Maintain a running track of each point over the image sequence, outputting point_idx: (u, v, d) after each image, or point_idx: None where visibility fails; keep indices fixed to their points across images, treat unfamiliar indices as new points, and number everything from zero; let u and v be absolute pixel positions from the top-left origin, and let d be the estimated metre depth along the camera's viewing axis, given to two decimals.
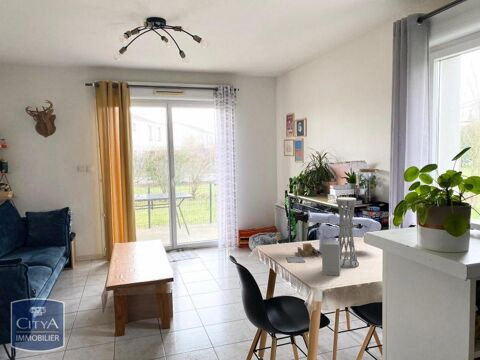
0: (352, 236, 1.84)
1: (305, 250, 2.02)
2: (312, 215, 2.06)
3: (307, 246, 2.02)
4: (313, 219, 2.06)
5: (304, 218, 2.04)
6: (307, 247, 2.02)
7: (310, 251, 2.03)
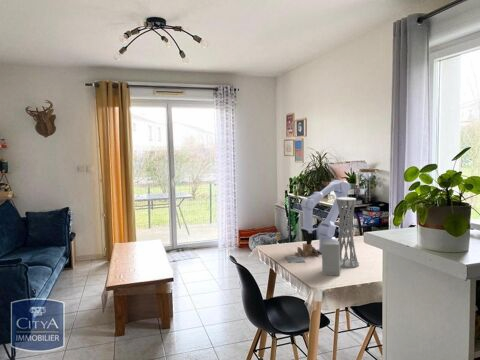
0: (352, 236, 1.84)
1: (305, 250, 2.02)
2: (305, 225, 2.01)
3: (307, 246, 2.02)
4: (309, 224, 2.01)
5: (309, 235, 2.00)
6: (307, 247, 2.02)
7: (310, 251, 2.03)
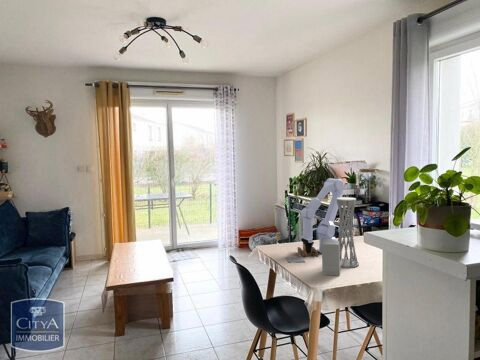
0: (352, 236, 1.84)
1: (305, 250, 2.02)
2: (305, 235, 2.02)
3: None
4: (309, 234, 2.01)
5: (309, 244, 2.01)
6: None
7: None
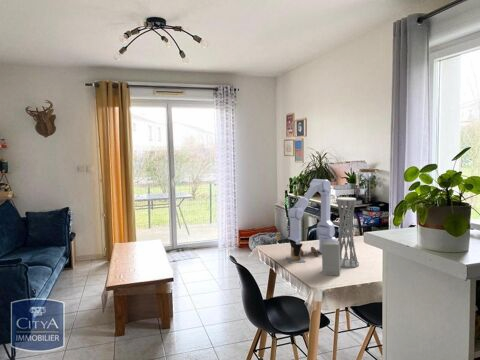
0: (352, 236, 1.84)
1: (293, 255, 1.92)
2: (293, 236, 1.91)
3: None
4: (297, 235, 1.91)
5: (297, 246, 1.90)
6: None
7: (298, 256, 1.92)
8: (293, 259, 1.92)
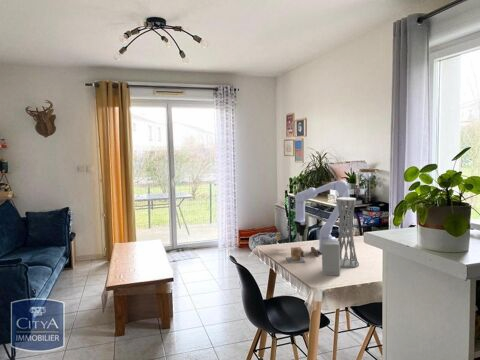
0: (352, 236, 1.84)
1: (293, 255, 1.92)
2: (298, 218, 2.12)
3: (295, 250, 1.92)
4: (302, 216, 2.12)
5: (301, 226, 2.10)
6: (295, 251, 1.92)
7: (298, 256, 1.92)
8: (293, 259, 1.92)
